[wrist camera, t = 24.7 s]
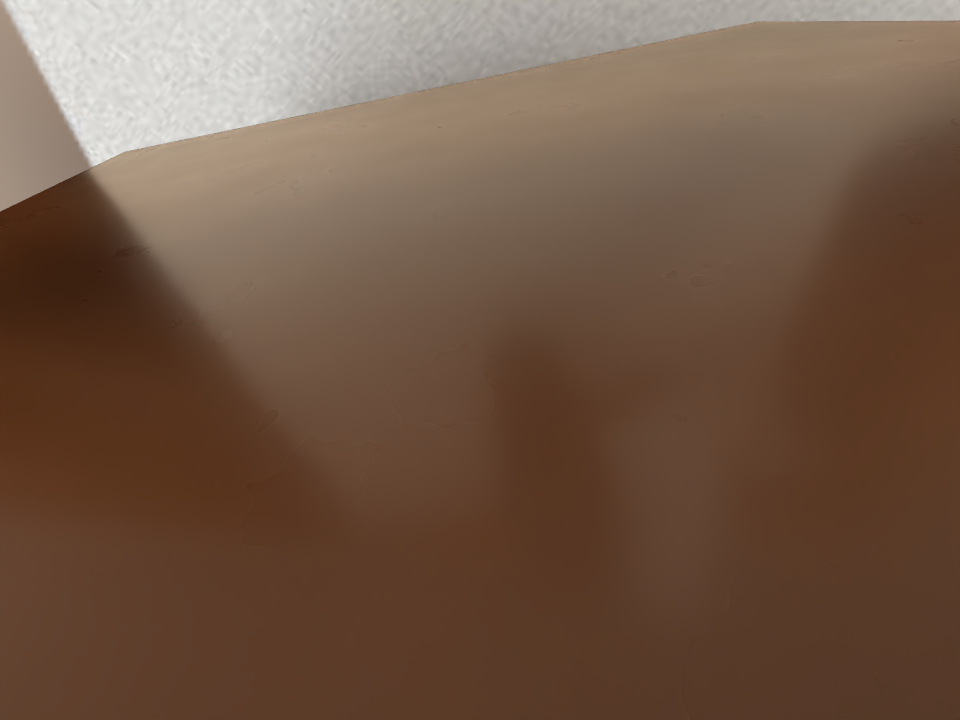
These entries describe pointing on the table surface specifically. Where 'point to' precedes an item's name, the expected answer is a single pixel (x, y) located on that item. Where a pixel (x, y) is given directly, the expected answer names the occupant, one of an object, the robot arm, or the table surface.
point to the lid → (503, 400)
